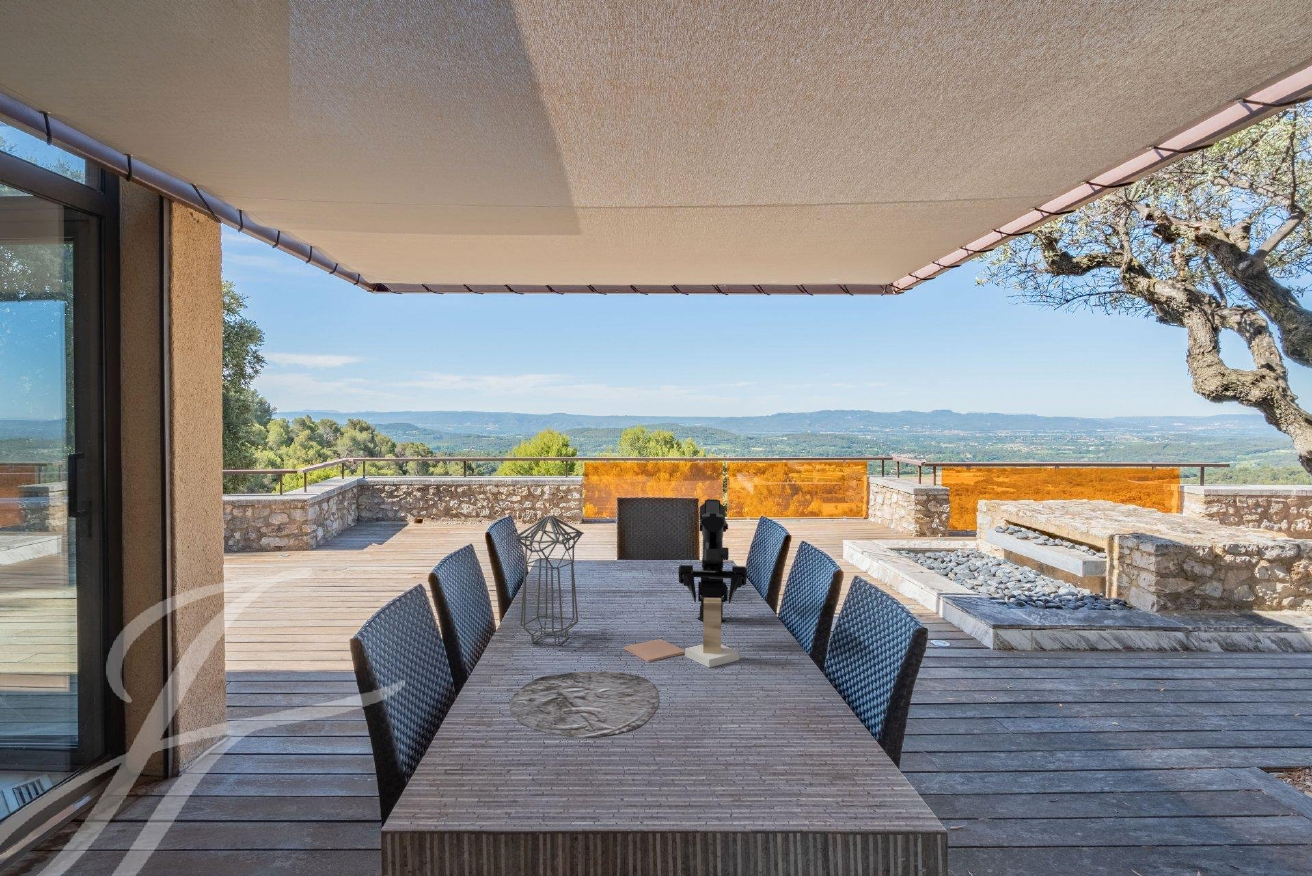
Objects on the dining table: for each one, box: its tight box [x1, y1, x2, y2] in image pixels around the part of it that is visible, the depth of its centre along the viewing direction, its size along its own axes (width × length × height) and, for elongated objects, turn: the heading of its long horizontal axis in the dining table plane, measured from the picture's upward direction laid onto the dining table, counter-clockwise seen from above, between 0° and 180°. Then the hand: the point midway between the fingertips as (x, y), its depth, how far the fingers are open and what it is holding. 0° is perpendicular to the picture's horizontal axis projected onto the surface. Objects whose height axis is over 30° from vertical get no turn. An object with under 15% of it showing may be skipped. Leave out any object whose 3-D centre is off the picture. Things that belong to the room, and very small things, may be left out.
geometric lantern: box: [513, 515, 585, 646], centre depth 190 cm, size 16×16×35 cm
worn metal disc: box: [509, 670, 660, 739], centre depth 149 cm, size 33×35×1 cm
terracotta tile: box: [623, 638, 685, 663], centre depth 182 cm, size 12×12×1 cm
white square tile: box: [684, 643, 740, 668], centre depth 177 cm, size 10×10×2 cm
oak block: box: [702, 598, 722, 653], centre depth 176 cm, size 4×4×13 cm
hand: (712, 601), depth 183 cm, fingers open, 9 cm apart
